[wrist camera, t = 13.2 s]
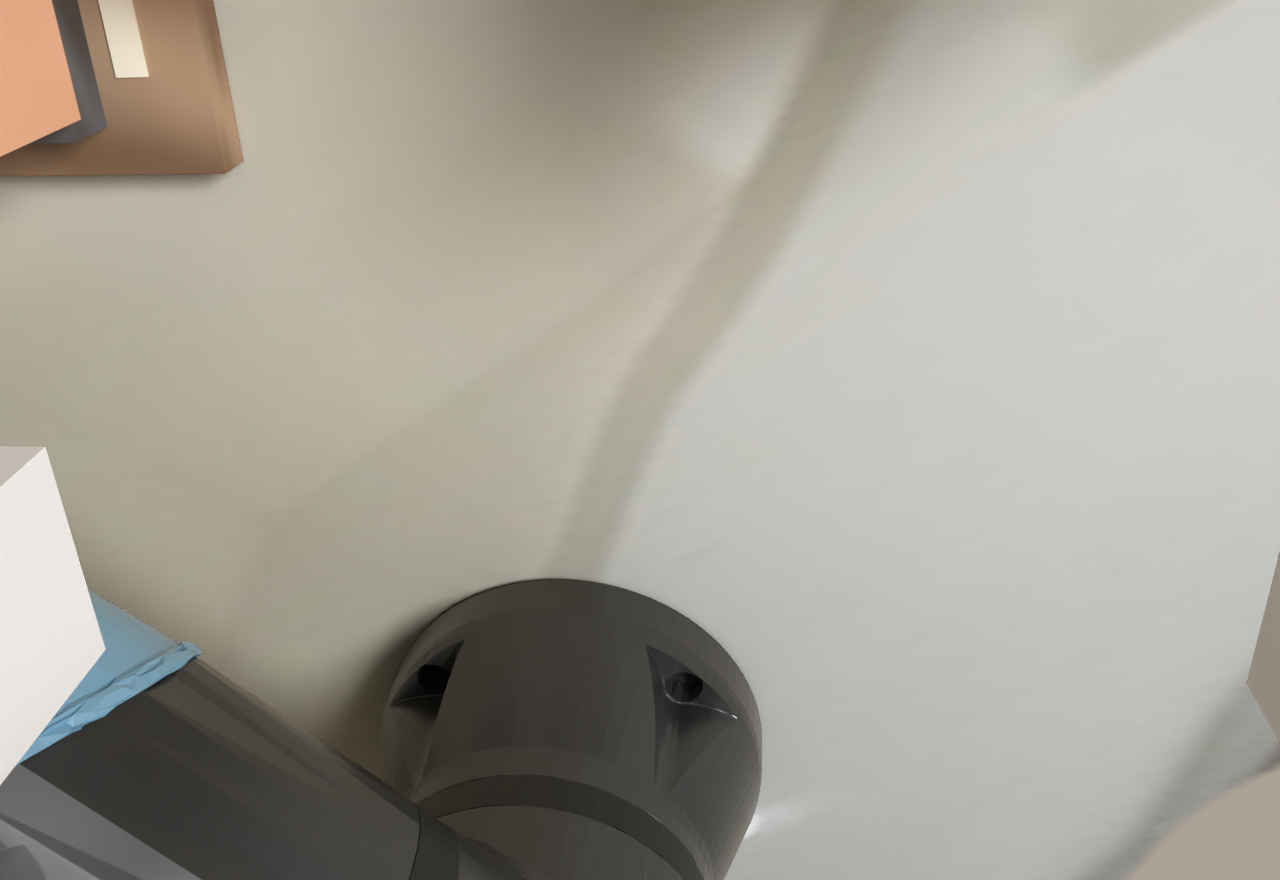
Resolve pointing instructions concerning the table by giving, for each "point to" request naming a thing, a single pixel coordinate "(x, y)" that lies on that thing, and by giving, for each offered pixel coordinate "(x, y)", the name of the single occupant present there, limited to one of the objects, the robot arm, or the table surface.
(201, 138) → the pin board
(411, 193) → the table surface
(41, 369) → the table surface
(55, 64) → the block
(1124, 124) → the table surface
